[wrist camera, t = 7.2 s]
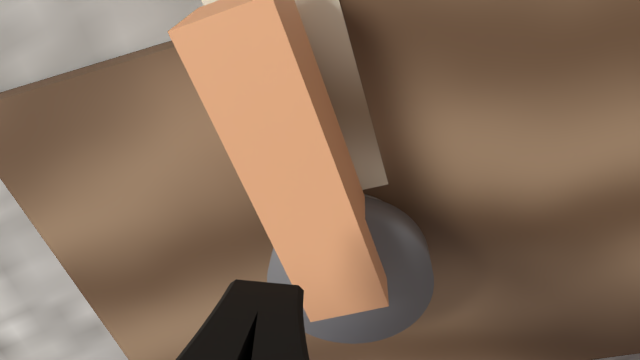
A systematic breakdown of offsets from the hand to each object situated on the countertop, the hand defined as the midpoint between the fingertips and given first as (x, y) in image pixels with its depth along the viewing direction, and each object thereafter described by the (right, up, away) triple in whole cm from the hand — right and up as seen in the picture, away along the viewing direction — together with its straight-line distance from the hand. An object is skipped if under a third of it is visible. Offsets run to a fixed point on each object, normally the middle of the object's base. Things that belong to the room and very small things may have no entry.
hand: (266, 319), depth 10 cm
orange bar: (+1, +3, +5) cm, 6 cm away
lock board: (+2, +1, +9) cm, 9 cm away
